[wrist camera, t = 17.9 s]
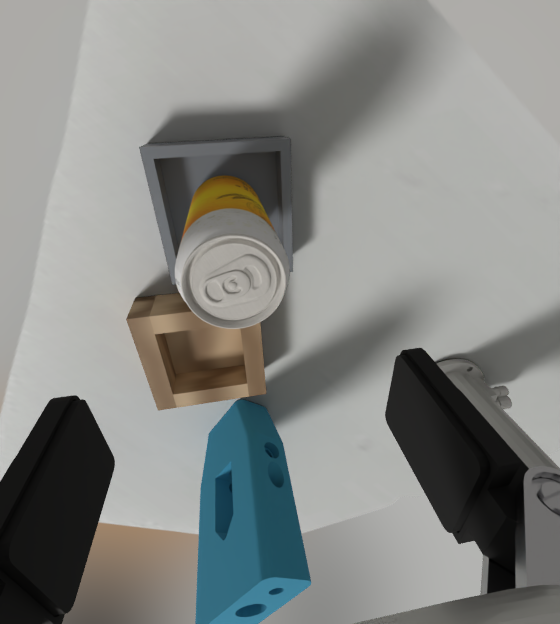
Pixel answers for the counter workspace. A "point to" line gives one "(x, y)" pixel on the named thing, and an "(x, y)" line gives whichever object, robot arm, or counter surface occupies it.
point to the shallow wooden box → (194, 354)
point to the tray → (210, 163)
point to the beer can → (230, 256)
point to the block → (247, 522)
